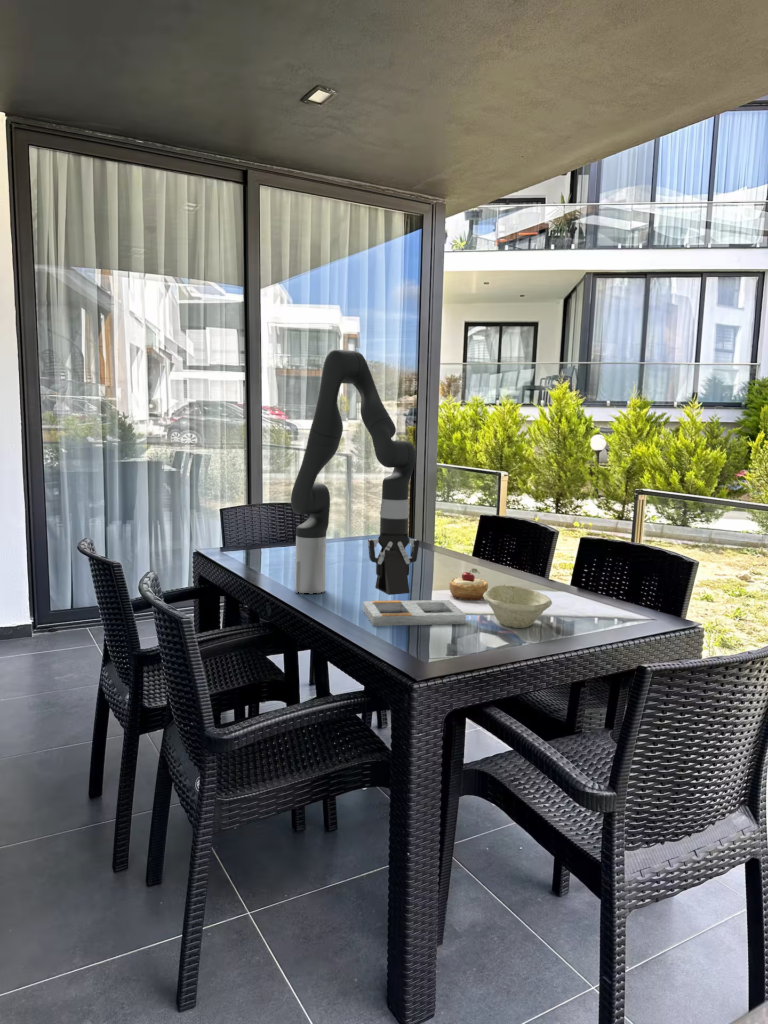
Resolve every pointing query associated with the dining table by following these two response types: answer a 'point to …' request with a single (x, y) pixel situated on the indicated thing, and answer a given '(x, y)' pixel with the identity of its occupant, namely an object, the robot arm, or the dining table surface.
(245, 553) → the dining table surface
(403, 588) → the phone stand
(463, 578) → the pastry
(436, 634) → the dining table surface
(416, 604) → the white slotted tray
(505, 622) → the bowl
